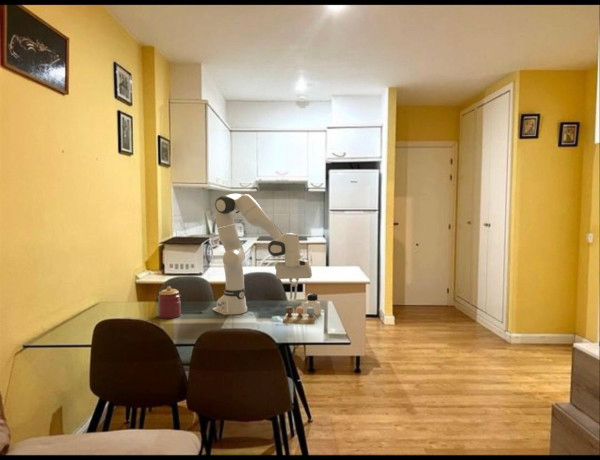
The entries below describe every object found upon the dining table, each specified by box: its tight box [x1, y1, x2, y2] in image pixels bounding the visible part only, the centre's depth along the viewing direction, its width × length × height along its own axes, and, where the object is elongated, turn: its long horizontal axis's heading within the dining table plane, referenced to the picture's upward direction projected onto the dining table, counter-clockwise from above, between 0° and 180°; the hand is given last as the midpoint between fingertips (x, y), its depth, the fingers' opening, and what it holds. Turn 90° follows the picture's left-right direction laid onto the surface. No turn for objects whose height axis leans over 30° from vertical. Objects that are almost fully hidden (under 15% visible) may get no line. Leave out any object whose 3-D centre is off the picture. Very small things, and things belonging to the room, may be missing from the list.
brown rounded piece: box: [285, 305, 294, 317], centre depth 224 cm, size 4×4×5 cm
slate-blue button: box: [307, 307, 314, 317], centre depth 222 cm, size 4×4×5 cm
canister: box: [157, 285, 182, 320], centre depth 234 cm, size 13×13×18 cm
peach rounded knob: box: [295, 306, 304, 317], centre depth 223 cm, size 4×4×5 cm
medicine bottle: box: [303, 293, 322, 316], centre depth 235 cm, size 7×7×12 cm
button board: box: [282, 312, 317, 324], centre depth 224 cm, size 17×12×2 cm
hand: (294, 286), depth 223 cm, fingers closed
